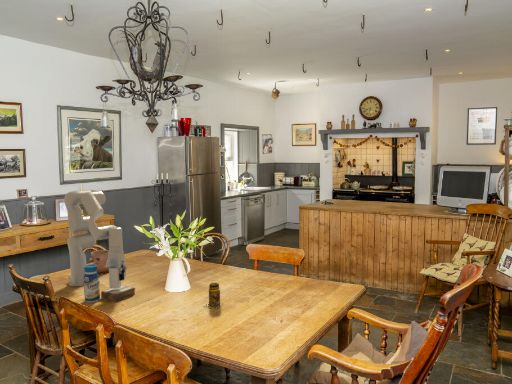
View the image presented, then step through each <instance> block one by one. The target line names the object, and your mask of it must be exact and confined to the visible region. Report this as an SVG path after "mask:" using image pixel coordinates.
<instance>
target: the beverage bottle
mask: <svg viewBox="0 0 512 384" xmlns="http://www.w3.org/2000/svg"><path fill="white" fill-rule="evenodd" d="M84 270H85V275H84V285H83V290H84V291H83V293H84V301H85V303H96V302H98V301H100V300H101V294H100V293H101V291H100V282H101V281H100V276H99V273H97V272H96V271H97V265H95V264H94V263H92V264H87V265H86V266H85V267H84Z"/></svg>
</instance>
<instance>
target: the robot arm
mask: <svg viewBox="0 0 512 384" xmlns="http://www.w3.org/2000/svg"><path fill="white" fill-rule="evenodd" d="M63 199H64V205H65V207H66V213H67V221H68V224H67V225H68V230H69V232H70V233H73V234H74V235H71V236H69V237H68V239H67V240H66V241H67V242H66V243H67V247H68V252H69V253H68V254H69V262H70V263H69V264H70V265H69V266H70V276H68V280H70V281H69V282H68V286H69V287H82V286H83V287H84V275H85V270H84V267H85V266H86V265H88V264H87V256H86V255H87V254H86V253H85V252H84V251H83V249H89V248H93V247H95V245H96V244H97V241H102V240H107V239H108V250H109V251H108V260H107V266H108V269H109V266H110V268H117V269H119V272H120V274H119V280H120V281H121V280H124V281H125V279H124V273H125V271H126V272H127V270H128V266H127V265H126V260H125V252H124V244H123V242H124V241H123V238H124V237H123V228H122V227H120V226H116V225H114V224H111V225H109V224H108V225H103V226H98V224H97V223H96V221H97V220H98V219H99V218H101V217H102V216H103V215H104V208H103V207H102V206H101V205H104V204H105V202H106V195H105V194H104V192H103V191H101V190H95V189H82V190H72V191H68V192H66V193H65V195H64V198H63ZM80 205H83V207H84V208H85V210H86V212H87V214H88V216H87V215H85V216H83V209H82V207H80ZM82 232H84V233H82ZM75 233H79V234H75ZM121 269H122V270H121ZM121 282H122V281H121Z"/></svg>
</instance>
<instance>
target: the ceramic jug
mask: <svg viewBox="0 0 512 384" xmlns="http://www.w3.org/2000/svg"><path fill="white" fill-rule="evenodd" d="M108 251H109V249H100V250H99V249H98V250H95V251H92V252H90V256H91V257H89V259H88V260H89V261H93V262H94V263H93V264H95V265H97V271H96V272H97V273H98V274H102V273H104V274H105V273H107V272H109V269H108V266H107V260H108Z"/></svg>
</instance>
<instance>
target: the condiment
mask: <svg viewBox="0 0 512 384" xmlns="http://www.w3.org/2000/svg"><path fill="white" fill-rule="evenodd" d="M207 303H209V304H208V305H209V306H210V307H208V306H207ZM207 303H206V304H205V305H206V306H205V305H203V308H204V307H205V308H211V307H216V308H215V309H218V308H220V307H221V306H222V305H223V302H221V289H220V284H219V282H211V283H209V286H208V302H207ZM220 305H221V306H220ZM219 306H220V307H219ZM217 307H218V308H217Z"/></svg>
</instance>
